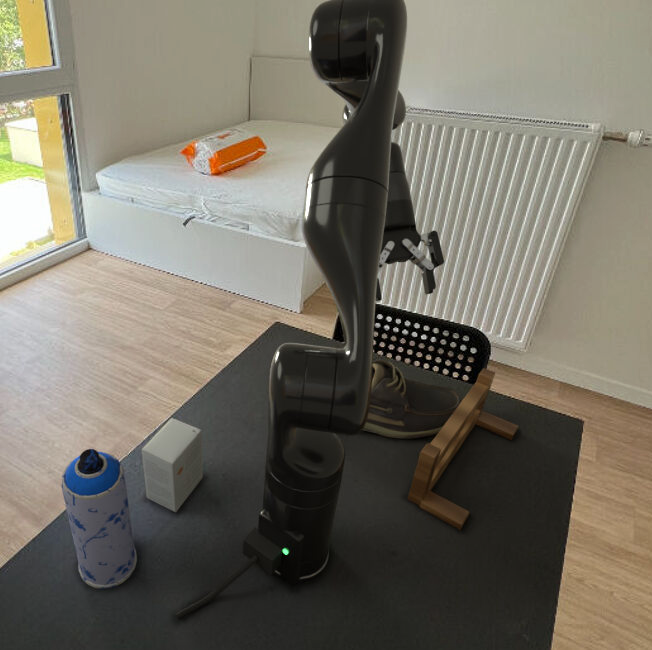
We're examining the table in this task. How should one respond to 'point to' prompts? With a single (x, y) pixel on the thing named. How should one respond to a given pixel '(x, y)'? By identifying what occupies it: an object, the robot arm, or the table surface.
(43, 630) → the table surface
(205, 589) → the table surface
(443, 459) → the wooden display stand
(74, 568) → the table surface
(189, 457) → the small box
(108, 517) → the aerosol can
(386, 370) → the boat shoe
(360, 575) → the table surface
